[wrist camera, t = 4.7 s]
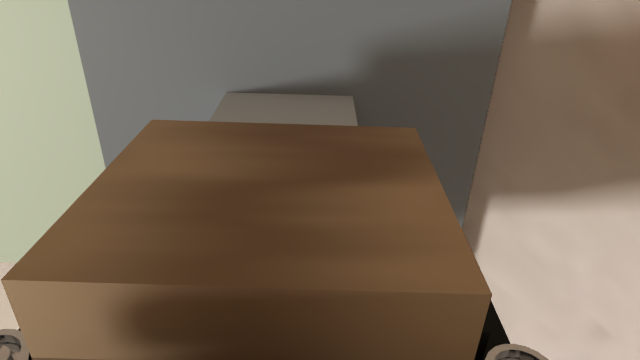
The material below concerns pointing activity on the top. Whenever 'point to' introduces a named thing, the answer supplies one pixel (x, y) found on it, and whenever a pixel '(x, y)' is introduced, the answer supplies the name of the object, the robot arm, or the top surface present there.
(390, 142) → the ring
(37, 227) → the pad
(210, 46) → the post stand
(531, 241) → the top surface
